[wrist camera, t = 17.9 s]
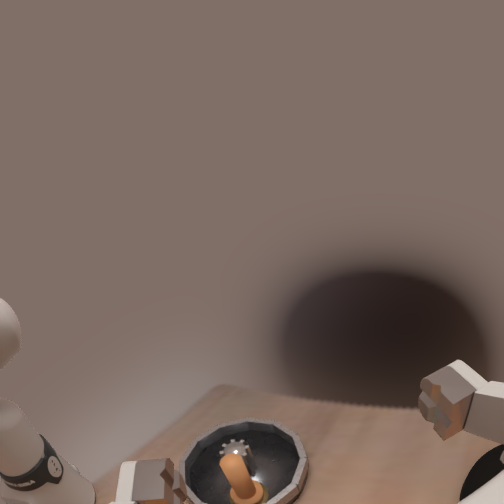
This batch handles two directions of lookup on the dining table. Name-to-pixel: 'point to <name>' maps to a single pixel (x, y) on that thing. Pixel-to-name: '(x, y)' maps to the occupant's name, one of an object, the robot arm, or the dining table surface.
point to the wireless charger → (483, 471)
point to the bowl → (246, 461)
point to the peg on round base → (241, 481)
